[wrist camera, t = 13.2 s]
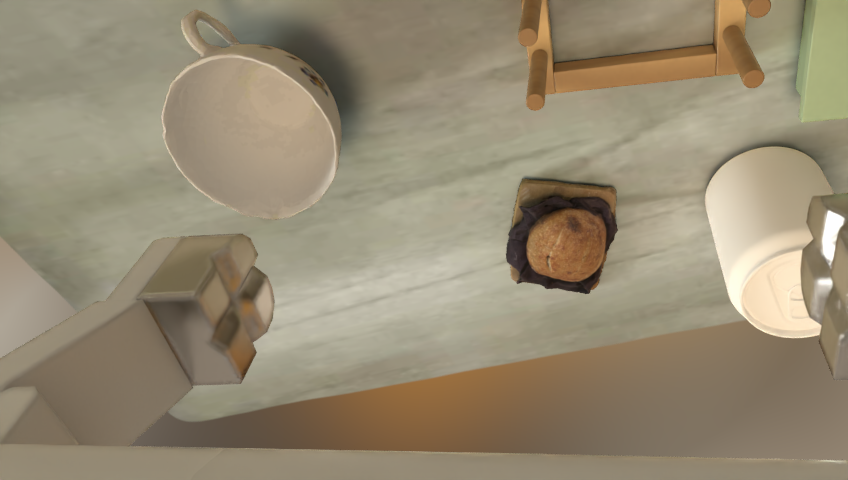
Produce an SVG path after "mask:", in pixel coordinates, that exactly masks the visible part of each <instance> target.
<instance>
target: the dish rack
mask: <svg viewBox="0 0 848 480" xmlns="http://www.w3.org/2000/svg"><path fill="white" fill-rule="evenodd" d="M521 2H522V10H523V11H522V17H521V22H520V28H519V34H518V40H519V42H520V44H521V45H523V46H525V47H527V53H528V62H529V71H530V73H529V81H528V89H527V97H526V105H527V107H528V108H529V109H531V110H539V109H541V108H542V107H543V106H544V103H545V94H554V93H555V92H556V93H563V92H572V91H582V90H591V89H600V88H609V87H618V86H628V85H637V84H646V83H655V82H665V81H674V80H683V79H692V78H701V77H711V76H715V75H716V76H721V75H730V74H739V75H740V77H741V79H742V81H743V84H744V85H745V86H746V87H748V88H755V87H758V86H759V85H761V84H762V82H763V81H764V73H763V71H762V70H761V68H760V66H759V64H758V62H757V60H756V58H755V56H754V54H753V52H752V50H751V48H750V47H749V45H748V43H747V41H746V39H745V24H746V9H747V11H748V13H749V14H750V16H752V17H755V18H759V17H762V16H764V15H766V14H767V13H768V12H769V10H770V7H771V3H770V0H715V18H714V42H713V45H705V46H696V47H688V48H680V49H671V50H663V51H654V52H646V53H638V54H629V55H621V56H613V57H604V58H596V59H587V60H579V61H571V62H562V63H555V64H554V58H553V47H552V37H551V26H550V16H549V5H548V0H521Z"/></svg>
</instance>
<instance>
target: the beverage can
mask: <svg viewBox="0 0 848 480" xmlns="http://www.w3.org/2000/svg"><path fill="white" fill-rule="evenodd" d="M831 194H834V192H833V190H832V189H831V187H830V185H829V183H828V181H827V179H826V177H825V176H824V174H823V172H822V170H821V168H820V167H819V165H818V164H817V163H816V162H815V161H814V160H813V159H812V158H811V157H809V156H808V155H806V154H804V153H802V152H800V151H797V150H794V149H791V148H786V147H763V148H757V149H753V150H750V151H747V152H744V153H742V154H740V155H738V156H736V157H734V158H732V159H731V160H729V161H728V162H727V163H725V164H724V165H723V166H722V167H721V168H720V169H719V170H718V171H717V172H716V173H715V175H714V176H713V177H712V179H711V181H710V183H709V185H708V187H707V190H706V194H705V207H706V211H707V215H708V219H709V222H710V226H711V230H712V234H713V238H714V241H715V245H716V249H717V253H718V257H719V260H720V264H721V268H722V272H723V276H724V279H725V283H726V287H727V291H728V294H729V297H730V300H731V302H732V303H733V305H734V306H735V308H736V309H737V310H738V311H739V312H740V313H741V314H742V315H743V316H744V317H745V318H746V319H747V320H748V321H749V322H750V323H751V324H752V325H753V326H755V327H756V328H758V329H759V330H761V331H763V332H766V333H768V334H771V335H775V336H780V337H787V338H803V337H811V336H816V335H820V331H821V325H820V324H819V323H817V322H816V321H814V320H813V319H811V318H810V317H809V315H808V312H807V309H806V307H805V304H804V299H803V295H802V290H801V274H800V268H801V258H802V249H803V248H805V247H806V246H807V245H808V244H809V243H810V242H811V241H812V240H813V237H812V234H811V232H810V230H809V228H808V225H807V223H806V221H807V214H808V208H809V204H810V202H811V199H812V197H813V196H819V195H831Z"/></svg>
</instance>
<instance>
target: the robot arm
mask: <svg viewBox="0 0 848 480" xmlns="http://www.w3.org/2000/svg"><path fill="white" fill-rule="evenodd" d="M806 223H807V225H808V228H809V230H810V232H811V234H812V237H813V240H812V241H811V242H810V243H809V244H808V245H807V246H806V247H805V248H803V249H802V258H801V268H800V274H801V290H802V295H803V299H804V304H805V307H806V309H807V312H808V315H809V317H810V318H811V319H813V320H814V321H816V322H817V323H819V324H820V325H821V331H820V337H819V344H820V346H821V349H822V351H823V354H824V356H825V358H826V361H827V363H828V366H829V369H830V371H831V374H832V376H833V379H834V380H848V193H843V194H831V195H819V196H813V197H812V199H811V202H810V204H809V208H808V214H807V221H806ZM257 256H258V253H257V251H256V249H255V247H254V245H253V243H252V241H251V239H250V238H249V237H247V236H245V235H243V234H223V235H201V236H188V237H185V236H180V237H167V238H161V239H158V240H154V241H153V242H152V243H151V245H150V246H149V247H148V248H147V250H146V251H145V252H144V253H143V255H142V256H141V257H140V258H139V260H138V261H137V262H136V263H135V265H134V266H133V267H132V268H131V270H130V271H129V272H128V273H127V275H126V276H125V277H124V278H123V280H122V281H121V282H120V283H119V284H118V286H117V287H116V288H115V289H114V291H113V292H112V293H111V294H110V296H109V297H108V298H107V299H106V301H97V302H95V303H93V304H92V305H90V306H88V307H87V308H85V309H83V310H82V311H80V312H78V313H76V314H75V315H73V316H71V317H70V318H68V319H66V320H65V321H63V322H61V323H59V324H58V325H56V326H54V327H53V328H51V329H49V330H47V331H46V332H44V333H42V334H41V335H39V336H37V337H36V338H34V339H32V340H30V341H29V342H27V343H25V344H24V345H22V346H20V347H18V348H17V349H15V350H13V351H12V352H10V353H8V354H7V355H5V356H3V357H2V358H0V480H848V460H801V459H800V460H799V459H794V460H793V459H750V458H705V457H704V458H703V457H702V458H701V457H657V456H611V455H566V454H564V455H563V454H516V453H515V454H514V453H462V452H409V451H406V452H405V451H354V450H300V449H250V448H249V449H248V448H247V449H246V448H198V447H148V446H145V447H144V446H130V445H131V444H132V443H133V442H134V441H135V440H136V439H137V438H139V437H140V435H142V434H143V433H144V432H145V431H146V430H147V429H148V428H150V426H152V425H153V424H154V423H155V422H156V421H157V420H158V419H159V418H161V417H162V416H163V415H164V414H165V413H166V412H167V411H168V410H169V409H170V408H172V407H173V406H174V405H175V404H176V403H177V402H178V401H179V400H180V399H182V398H183V397H184V396H185V395H186V394H187V393H188V392H189V391H190V390H191V389H193V387H192V386H193V385H221V384H241V383H242V381H243V379H244V377H245V375H246V373H247V371H248V369H249V367H250V365H251V363H252V361H253V359H254V357H255V355H256V353H257V352H256V350H255V347H254V345H253V342H254V341H256V340H257V339H258V338H260V337H261V336H262V335H264V334H265V333H266V332H267V330H268V328H269V326H270V324H271V321H272V319H273V311H274V303H275V302H274V296H273V290H272V286H271V284H270V282H269V279H268V277H267V276H266V275H265V274H264V273H263V272H261V271H260V270H259V269H258V268H256V267H255V266H254V265H255V262H256V259H257Z"/></svg>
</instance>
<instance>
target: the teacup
mask: <svg viewBox="0 0 848 480" xmlns="http://www.w3.org/2000/svg"><path fill="white" fill-rule="evenodd" d="M198 20H199V21H201V22H203V23H205V24H207V25H209V26H210V27H211V28H212V29H214V30H215V31H216V32H217V33H218V34H219V35H220V36H221V37H222V38H223V39H224V40H226V41H227V42H228V43H229V44H230V46H229V47H226V48H222V47H219V46H214V45H210V44H208V43H206V42H205V41H204V40H203V38H202V37H201V36H200V34H199V32H198V29H197V27H196V22H197V21H198ZM181 22H182V24H181V27H182V31H183V34H184V36H185V38H186V40H187V41H188V42H189V44H190V45H191V46H192V48H193V49H194V50H196V51H197V52H198V53H199V54H200V55H201V56H200V58H199V59H198V60H196V61H195V62H193V63H191V64H190V65H188V66H187V67H186V68H185V69H183V70H182V71H181V72H180V73H179V74H178V75H177V76H176V78H175V79H174V80H173V81H172V82H171V85H170V88H169V91H168V94H167V96H166V99H165V104H164V108H163V110H162V117H161V120H162V125H163V127H164V130H163V138H164V141H165V144H166V146H167V148H168V151H169V153H170V155H171V156H172V158H173V160H174V162H175V164H176V166H177V167H178V169H179V170H180V171H181V173H182V174H183V175H184V176H185V177H186V179H187V180H188V181H189V182H190V183H191V184H192V185H193V186H194V187H195V188H196V189H197V190H199V191H200V192H202V193H203V194H205V195H206V196H208V197H209V198H210V199H211V200H212V201H214V202H216V203H219V204H223V205H225V206H226V207H228V208H231V209H234V210H236V211H238V212H239V213H241V214H243V215H245V216H250V217H254V216H259V217H261V218H264V219H275V220H277V219H280V218H288V217H291V216H293V215H294V214H297V213H299V212H301V211H303V210H306V209H307V208H309V207H311V206H312V205H314V204H315V203H316V202H317V201H318V200H319V199H320V198H321V197H322V196H323V195H324V193H325V192H326V190H327V189H328V187H329V186H330V185H331V183H332V182H333V180H334V177H335V175H336V172H337V169H338V163H339V156H340V149H341V122H340V116H339V112H338V108H337V105H336V102H335V100H334V97H333V95H332V93H331V91H330V89H329V87H328V86H327V85H326V83H325V82H324V80H323V79H322V78H321V77H320V75H319V74H318V73H317V72H316V71H315V70H314V69H313V68H312V67H311V66H310V65H308V64H307V63H306V62H304V61H303V60H301V59H300V58H299V57H297V56H295V55H293V54H291V53H289V52H286V51H284V50H282V49H279V48H275V47H272V46H267V45H258V44H240V43H239V42H238V40H237V39H236V38H235V37H234V35H233V34H232V33H231V32H230V30H229V29H228V28H227V27H226V26H225V25H223V24H222V23H221V22H219V21H218V20H216V19H214V18H213V17H211V16H209V15H208V14H206V13H204V12H202V11H199V10H194V11H192V12H190V13H189V14H188V15H187V16H185V17H184V18H183V19H182V21H181Z"/></svg>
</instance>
